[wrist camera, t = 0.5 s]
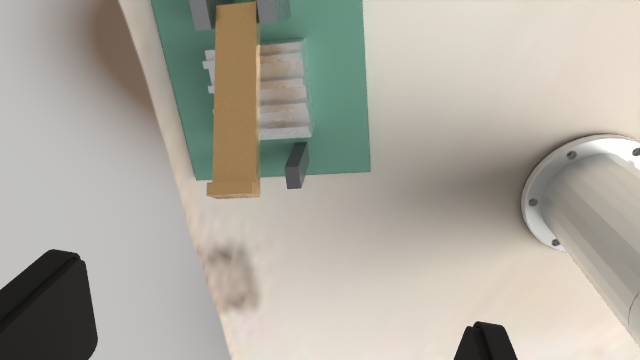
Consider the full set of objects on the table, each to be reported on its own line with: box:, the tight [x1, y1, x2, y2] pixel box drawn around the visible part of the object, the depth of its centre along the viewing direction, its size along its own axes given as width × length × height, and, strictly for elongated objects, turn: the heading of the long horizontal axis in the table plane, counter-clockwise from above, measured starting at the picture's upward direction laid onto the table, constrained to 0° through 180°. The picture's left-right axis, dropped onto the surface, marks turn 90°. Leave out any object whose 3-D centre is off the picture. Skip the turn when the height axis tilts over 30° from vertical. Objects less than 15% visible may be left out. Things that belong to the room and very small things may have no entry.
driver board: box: [151, 0, 370, 189], centre depth 35 cm, size 18×18×7 cm
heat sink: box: [189, 0, 315, 140], centre depth 33 cm, size 8×12×6 cm, turn 5°
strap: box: [207, 1, 260, 199], centre depth 28 cm, size 3×14×2 cm
